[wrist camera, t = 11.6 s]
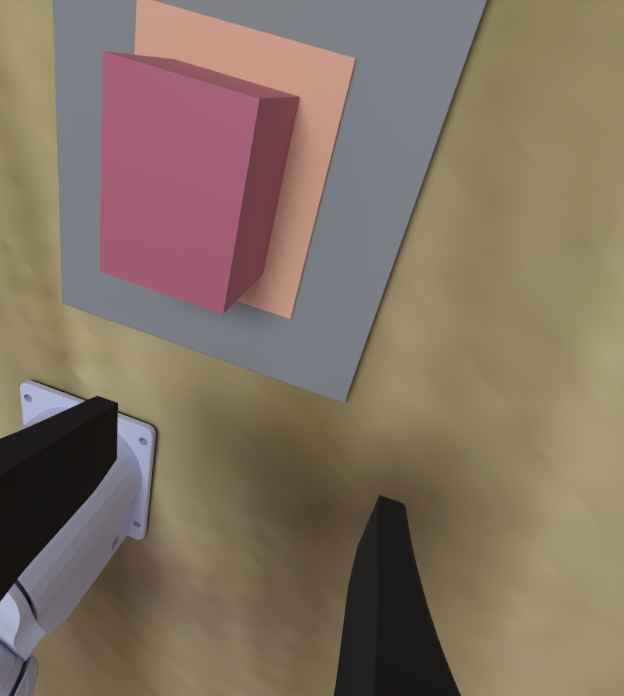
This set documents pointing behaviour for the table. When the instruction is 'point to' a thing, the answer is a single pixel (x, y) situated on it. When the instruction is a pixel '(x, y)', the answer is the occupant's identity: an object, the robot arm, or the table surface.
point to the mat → (300, 170)
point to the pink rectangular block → (189, 177)
